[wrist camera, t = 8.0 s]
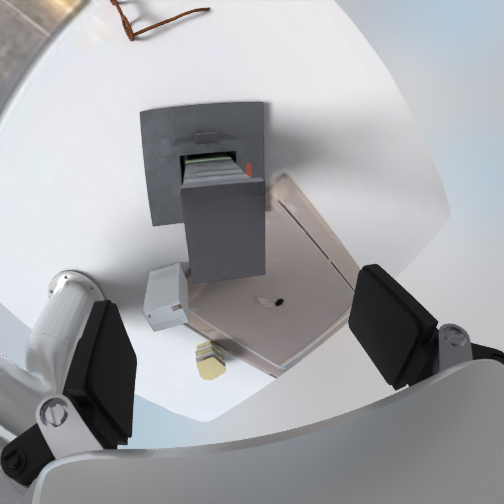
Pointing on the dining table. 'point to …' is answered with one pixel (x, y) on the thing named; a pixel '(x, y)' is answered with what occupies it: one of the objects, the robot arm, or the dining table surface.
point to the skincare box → (166, 298)
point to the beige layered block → (209, 361)
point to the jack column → (223, 218)
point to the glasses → (132, 35)
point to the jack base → (196, 147)
